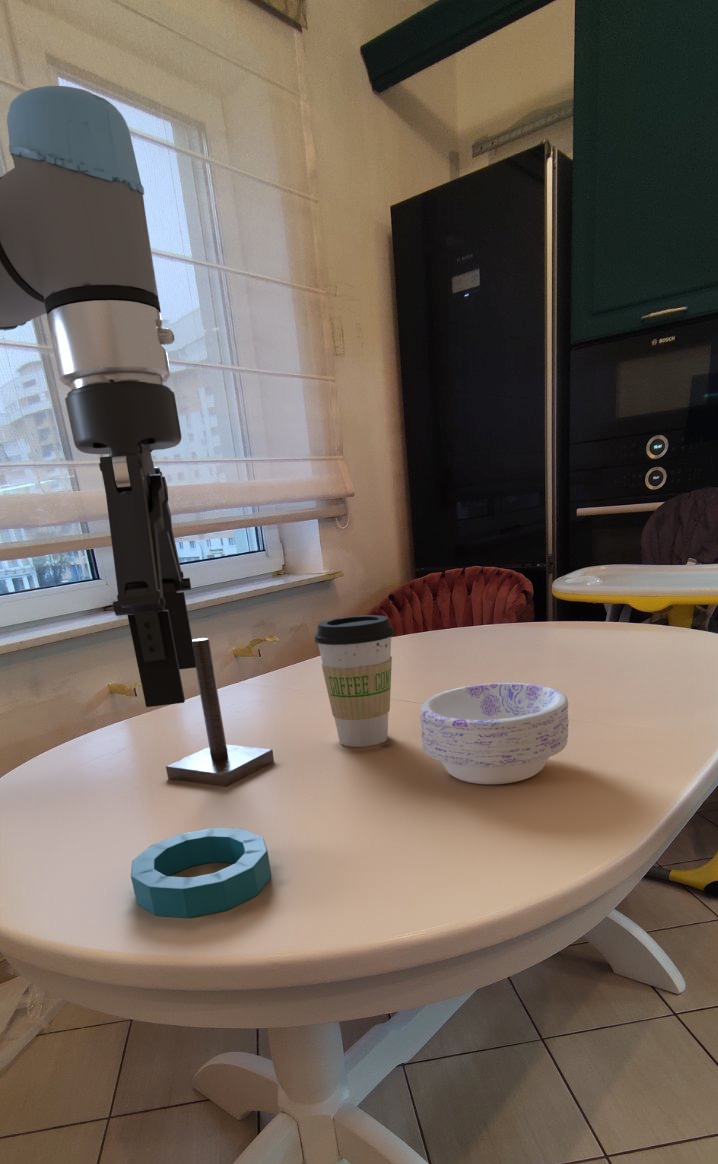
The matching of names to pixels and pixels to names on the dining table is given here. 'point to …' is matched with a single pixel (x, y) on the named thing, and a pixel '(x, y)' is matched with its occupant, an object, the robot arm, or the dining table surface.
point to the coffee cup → (357, 676)
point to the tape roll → (206, 890)
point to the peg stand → (215, 736)
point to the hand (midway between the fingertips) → (174, 684)
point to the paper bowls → (495, 730)
